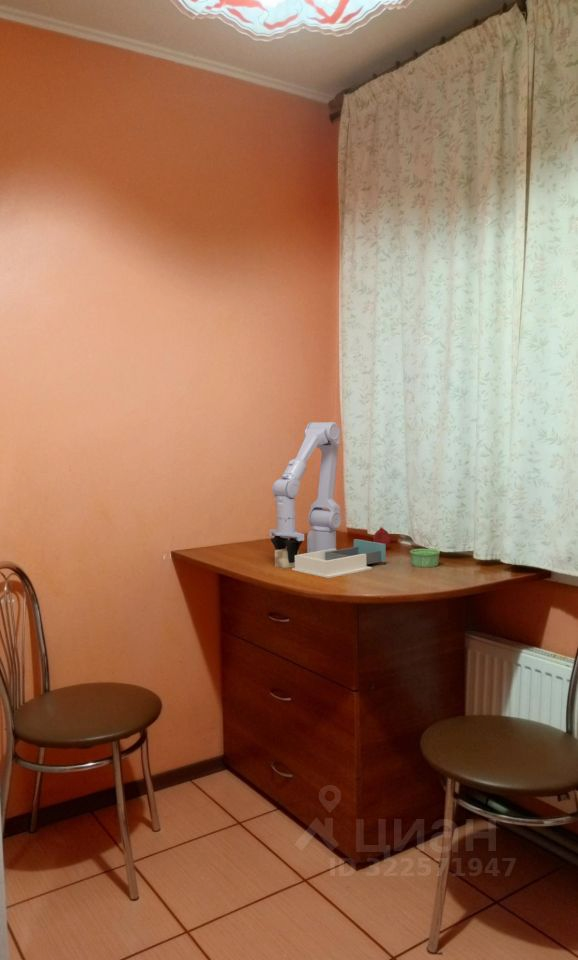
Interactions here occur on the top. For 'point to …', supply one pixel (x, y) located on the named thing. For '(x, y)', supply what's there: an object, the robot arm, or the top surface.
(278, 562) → the block
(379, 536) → the onion
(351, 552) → the tray
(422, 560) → the ramekin
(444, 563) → the top surface
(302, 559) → the housing
